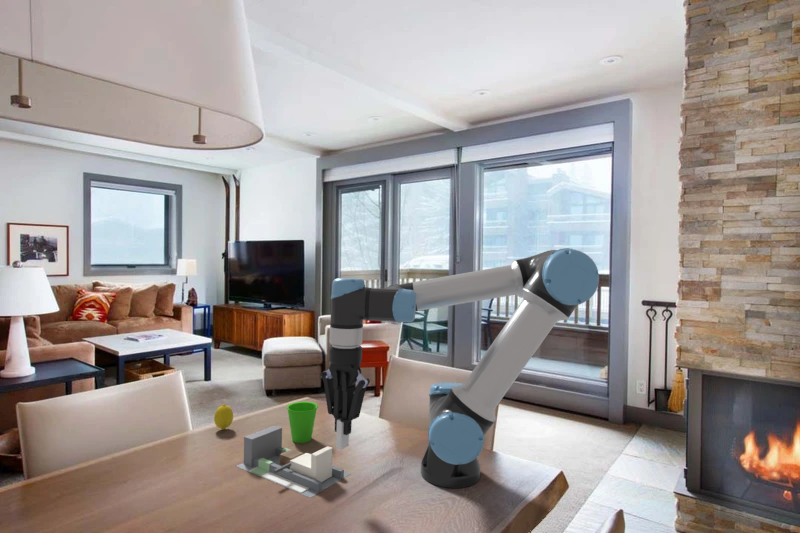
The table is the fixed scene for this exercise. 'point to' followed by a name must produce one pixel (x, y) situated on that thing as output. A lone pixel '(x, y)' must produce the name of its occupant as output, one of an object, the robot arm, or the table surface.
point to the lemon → (223, 417)
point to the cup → (302, 420)
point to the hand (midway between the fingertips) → (342, 446)
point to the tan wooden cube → (289, 456)
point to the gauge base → (265, 459)
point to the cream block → (312, 464)
